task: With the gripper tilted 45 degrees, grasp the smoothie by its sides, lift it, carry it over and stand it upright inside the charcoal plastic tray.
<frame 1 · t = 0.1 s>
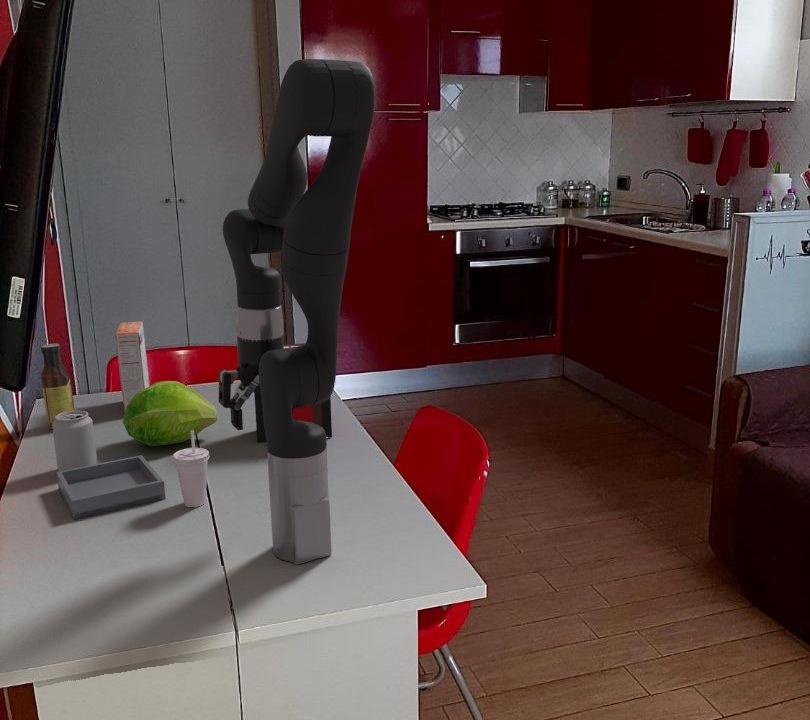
hand: (263, 424, 137), 17 cm above the table, tool pointing down, fingers open, 8 cm apart
tray: (111, 493, 152), on the table
cracker box: (137, 407, 205), on the table
smoothie: (195, 504, 148), on the table
sauce bottle: (62, 427, 191), on the table
lettuce: (172, 443, 180), on the table
can: (78, 471, 164), on the table
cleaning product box: (294, 434, 184), on the table
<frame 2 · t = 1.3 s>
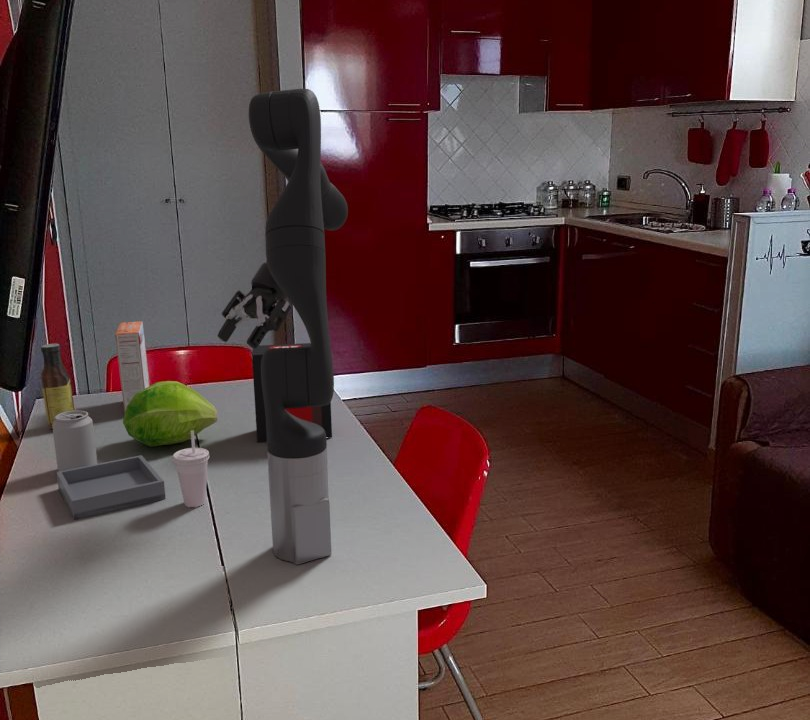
hand: (235, 342, 149), 28 cm above the table, tool tilted 45°, fingers open, 8 cm apart
nothing on the table moved.
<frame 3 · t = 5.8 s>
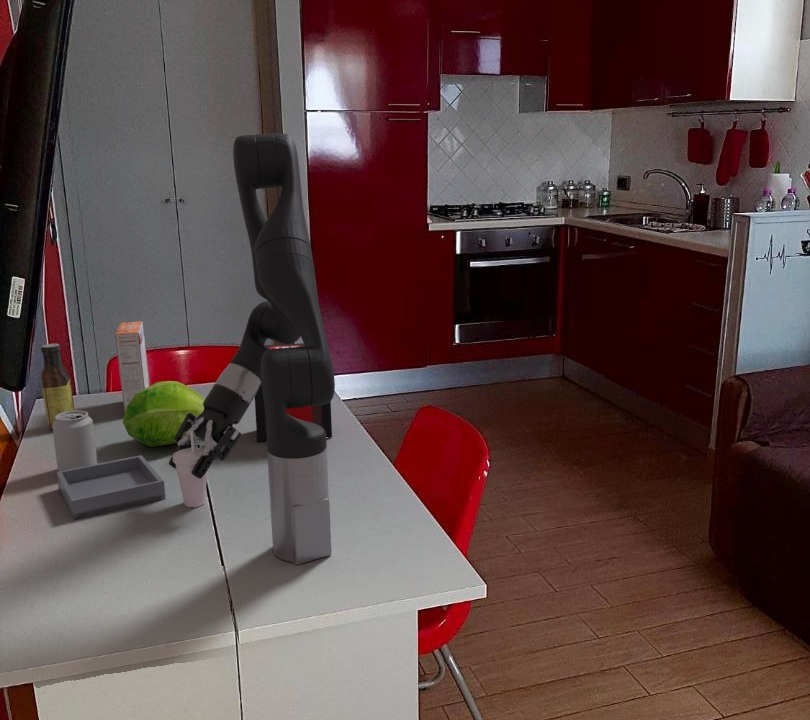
hand: (184, 471, 145), 7 cm above the table, tool tilted 45°, fingers closed on smoothie, 6 cm apart
smoothie: (195, 504, 148), on the table, touching gripper
everything else where it was.
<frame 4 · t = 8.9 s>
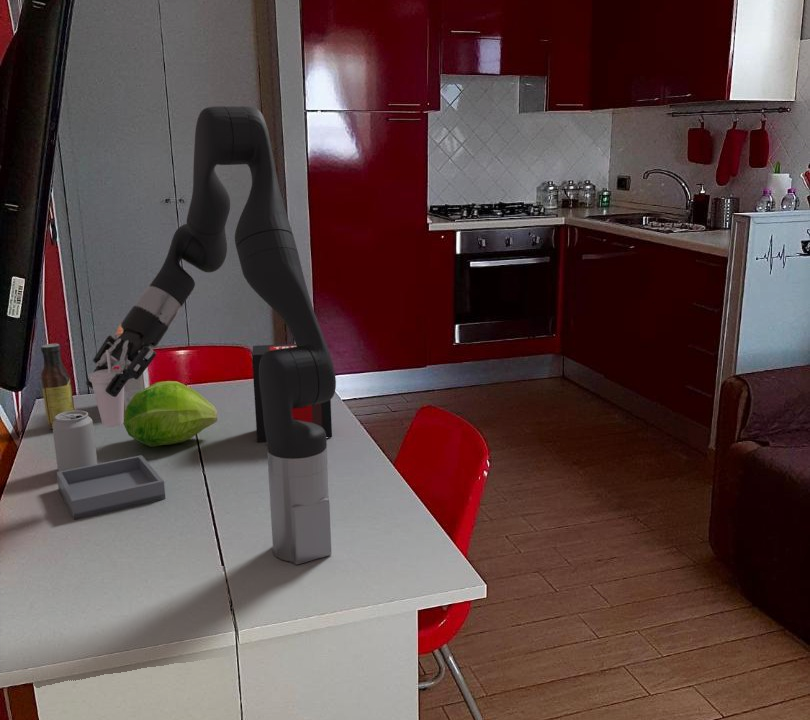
hand: (100, 390, 146), 21 cm above the table, tool tilted 45°, fingers closed on smoothie, 6 cm apart
smoothie: (113, 424, 149), point 14 cm above the table, touching gripper
everything else where it was.
when the fingers open (9 cm above the table, at t = 11.8 s): smoothie drops 1 cm, resting on tray.
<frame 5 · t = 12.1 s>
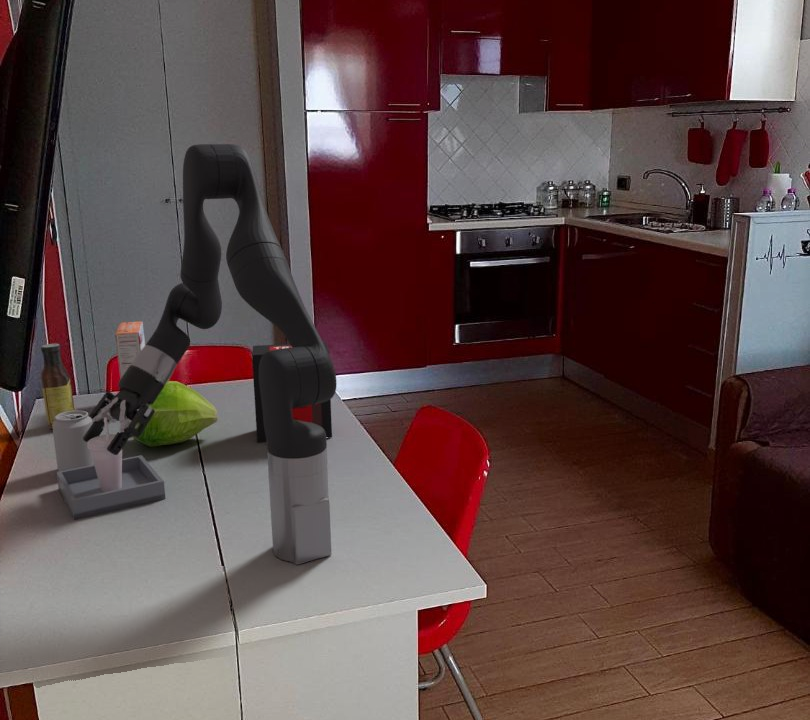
hand: (99, 447, 149), 10 cm above the table, tool tilted 45°, fingers open, 8 cm apart
smoothie: (111, 489, 152), point 1 cm above the table, touching tray
everything else where it was.
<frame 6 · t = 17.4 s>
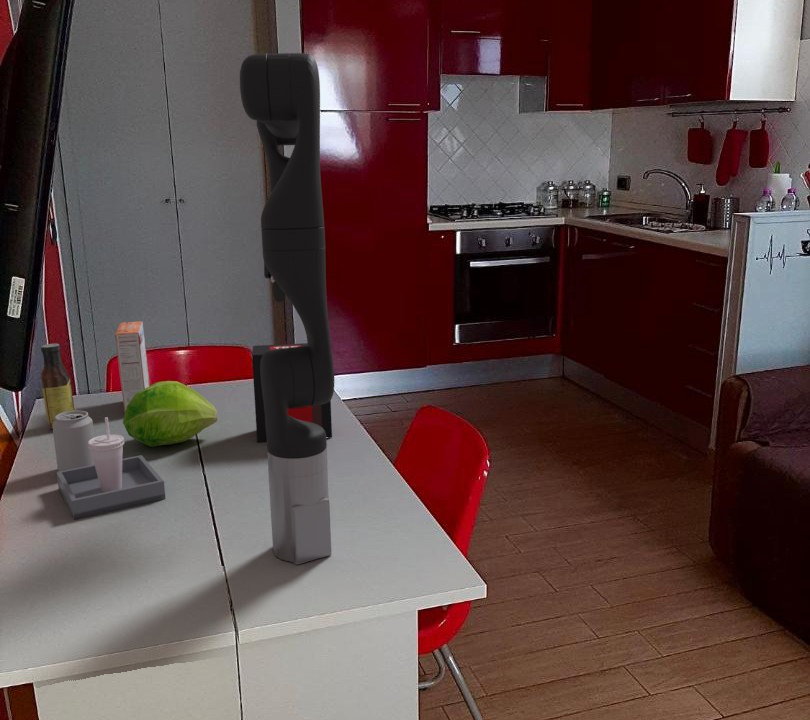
hand: (295, 303, 153), 34 cm above the table, tool pointing down, fingers open, 8 cm apart
nothing on the table moved.
at the end: smoothie inside the target area on the tray (0.3 cm from its centre), point 0.8 cm above the tray's base; smoothie tilted 0°; the gripper is holding nothing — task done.
